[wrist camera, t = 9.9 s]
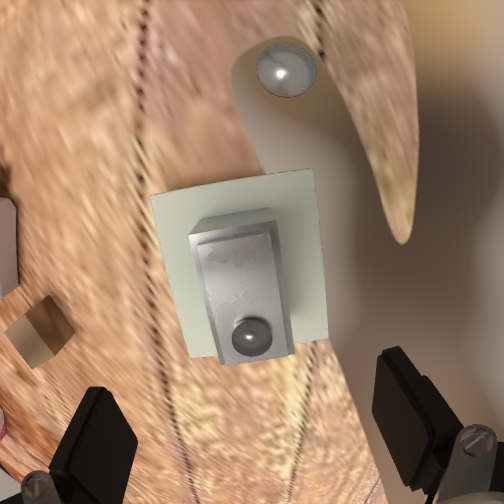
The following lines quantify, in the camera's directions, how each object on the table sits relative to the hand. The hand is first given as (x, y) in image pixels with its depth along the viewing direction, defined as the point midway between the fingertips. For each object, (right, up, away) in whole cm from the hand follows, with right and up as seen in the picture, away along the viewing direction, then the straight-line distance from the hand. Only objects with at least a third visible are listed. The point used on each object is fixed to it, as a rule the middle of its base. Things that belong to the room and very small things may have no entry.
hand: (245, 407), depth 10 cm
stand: (0, +5, +18) cm, 19 cm away
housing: (0, +4, +14) cm, 15 cm away
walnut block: (-23, -3, +20) cm, 30 cm away
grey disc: (+3, +21, +14) cm, 25 cm away
